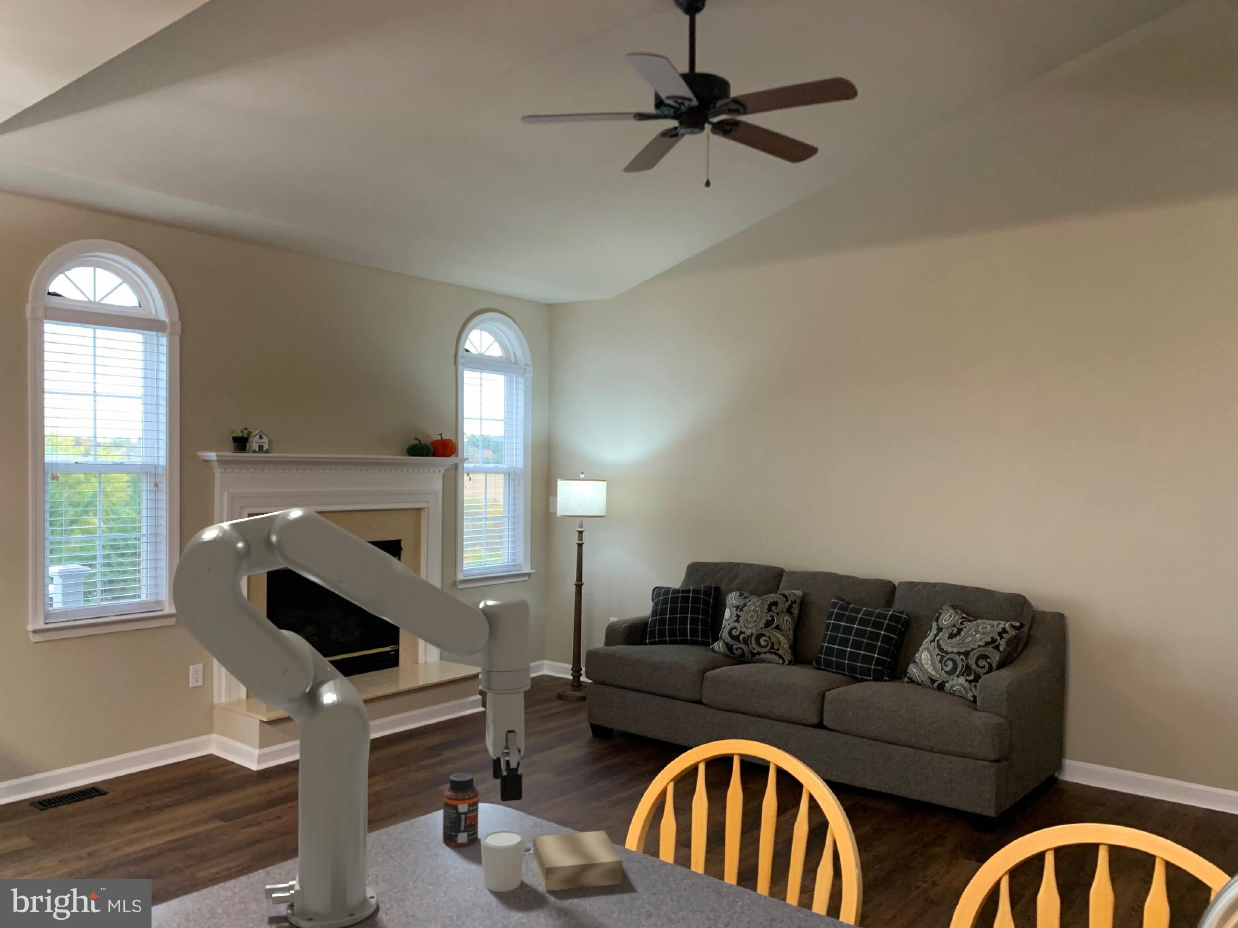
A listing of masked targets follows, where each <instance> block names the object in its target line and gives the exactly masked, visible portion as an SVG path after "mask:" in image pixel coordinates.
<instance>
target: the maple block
mask: <svg viewBox="0 0 1238 928" xmlns="http://www.w3.org/2000/svg"><path fill="white" fill-rule="evenodd" d="M532 845H533V854H532V859H533V858H534V859H533V861H535V862H534V864H535V866H537V867H536V870H537V869H538V870H537V872H539V873H538V875H539V878H540V881H541V880H542V881H541V883H542V885H543V889H544V888H545V889H544V892H549V891H548V890H551V891H550V892H552V890H554V891H561V890H562V889H564V890H568V889H567V888H574V889H579V888H578V887H583V888H591V887H601V886H612V885H620V884H623V860H622V857H621V856H620V855H619V853H618V851H617V849H616V848H615V846H614V845H613V843H612V841H611V839H610V838H609V836H608V834H607V833H606V830H597V831H583V832H582V831H581V832H573V833H561V834H552V835H539V836H537V835H536V836H532ZM560 889H561V890H560Z"/></svg>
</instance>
